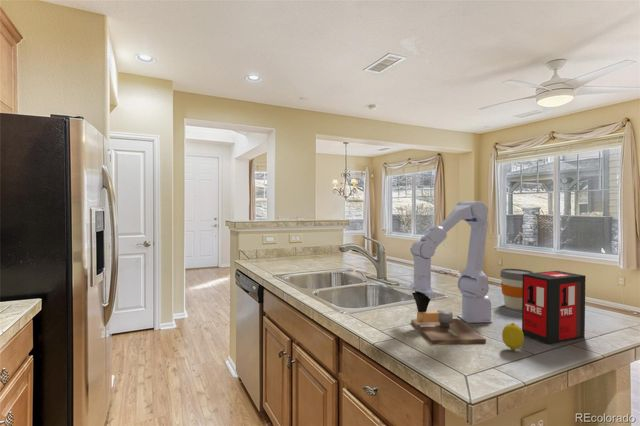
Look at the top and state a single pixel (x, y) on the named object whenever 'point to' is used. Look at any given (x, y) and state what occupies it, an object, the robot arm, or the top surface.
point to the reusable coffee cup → (512, 287)
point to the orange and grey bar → (435, 316)
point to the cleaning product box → (553, 306)
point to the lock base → (448, 332)
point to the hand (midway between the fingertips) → (422, 313)
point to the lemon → (513, 336)
